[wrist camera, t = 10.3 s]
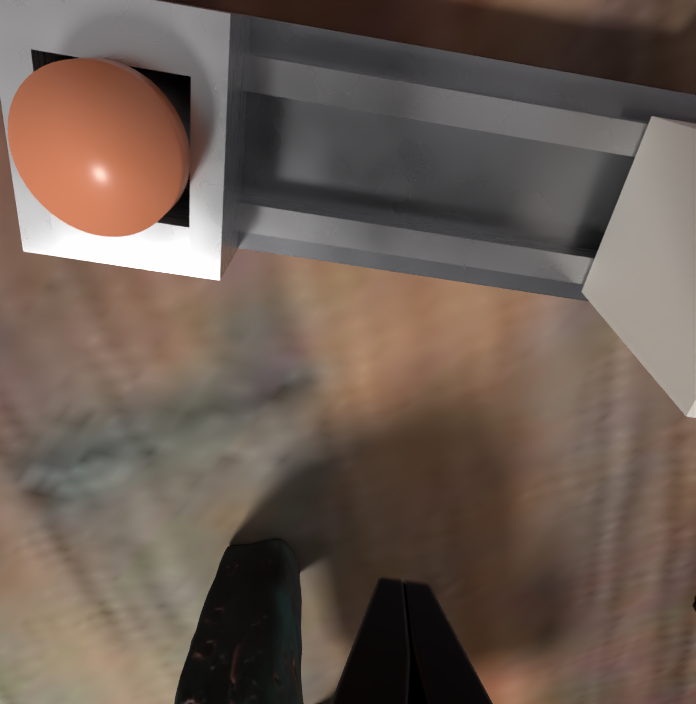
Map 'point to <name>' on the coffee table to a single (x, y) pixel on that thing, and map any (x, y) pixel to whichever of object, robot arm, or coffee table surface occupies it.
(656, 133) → the carriage
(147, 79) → the button
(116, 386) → the coffee table surface
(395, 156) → the rail
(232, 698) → the ceramic cat
